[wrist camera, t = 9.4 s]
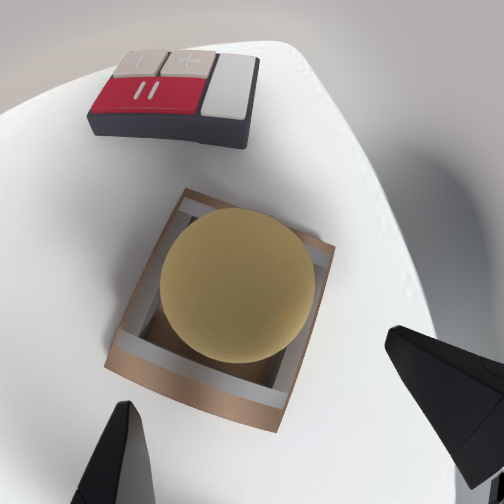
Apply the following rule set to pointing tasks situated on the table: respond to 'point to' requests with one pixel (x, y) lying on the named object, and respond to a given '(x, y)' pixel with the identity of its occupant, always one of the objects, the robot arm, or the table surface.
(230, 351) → the light bulb
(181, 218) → the square frame
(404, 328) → the robot arm
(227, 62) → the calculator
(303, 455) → the table surface
